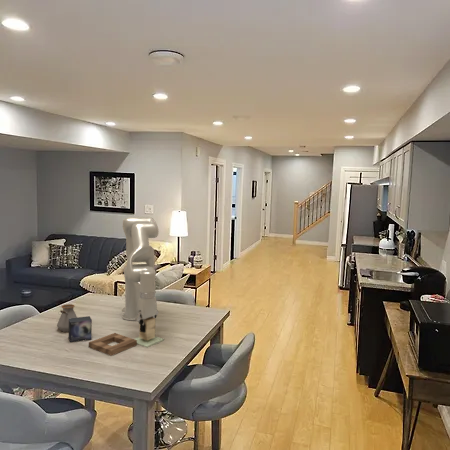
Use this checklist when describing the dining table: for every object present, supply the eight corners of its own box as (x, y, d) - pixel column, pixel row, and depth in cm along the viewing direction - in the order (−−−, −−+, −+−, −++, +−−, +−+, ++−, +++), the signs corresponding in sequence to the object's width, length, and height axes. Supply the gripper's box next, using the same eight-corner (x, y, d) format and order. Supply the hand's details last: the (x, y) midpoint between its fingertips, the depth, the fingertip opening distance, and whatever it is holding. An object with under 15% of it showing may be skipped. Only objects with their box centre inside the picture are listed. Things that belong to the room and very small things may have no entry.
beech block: (139, 337, 207) (139, 318, 206) (147, 334, 211) (147, 315, 210) (147, 340, 204) (147, 320, 203) (155, 337, 208) (155, 318, 207)
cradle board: (88, 347, 198) (88, 342, 197) (114, 337, 211) (114, 332, 211) (111, 355, 189) (111, 350, 188) (136, 345, 202) (136, 340, 202)
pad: (129, 341, 206) (129, 340, 206) (147, 334, 216) (147, 333, 216) (147, 347, 199) (147, 346, 199) (164, 340, 209) (164, 339, 209)
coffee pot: (60, 325, 225) (59, 299, 224) (81, 325, 227) (81, 298, 225) (48, 340, 204) (48, 311, 203) (72, 340, 206) (72, 311, 204)
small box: (69, 342, 202) (69, 322, 201) (68, 338, 208) (68, 318, 207) (92, 339, 207) (92, 319, 206) (89, 335, 213) (89, 315, 212)
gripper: (154, 290, 215) (153, 324, 216) (129, 297, 200) (129, 333, 202) (164, 292, 210) (164, 327, 212) (140, 300, 196) (140, 336, 198)
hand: (147, 329), depth 207 cm, fingers closed on beech block, 5 cm apart
